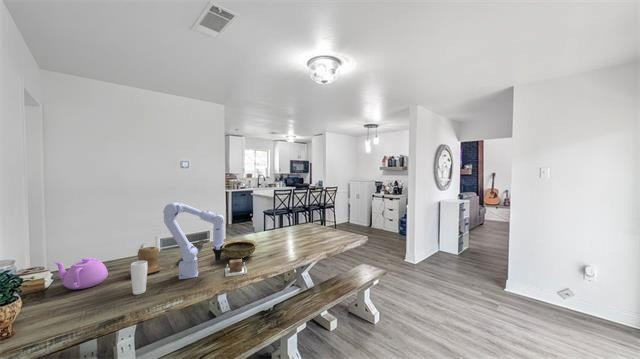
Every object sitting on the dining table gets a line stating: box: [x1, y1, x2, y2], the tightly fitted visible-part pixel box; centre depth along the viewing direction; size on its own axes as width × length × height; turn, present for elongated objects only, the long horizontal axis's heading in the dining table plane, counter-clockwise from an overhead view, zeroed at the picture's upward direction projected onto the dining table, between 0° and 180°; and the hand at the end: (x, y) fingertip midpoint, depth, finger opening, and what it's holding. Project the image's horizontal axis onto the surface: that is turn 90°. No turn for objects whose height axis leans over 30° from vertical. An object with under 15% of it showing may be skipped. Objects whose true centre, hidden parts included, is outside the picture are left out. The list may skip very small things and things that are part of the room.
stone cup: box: [137, 246, 163, 275], centre depth 145 cm, size 15×12×15 cm
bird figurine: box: [174, 239, 209, 267], centre depth 165 cm, size 13×10×20 cm
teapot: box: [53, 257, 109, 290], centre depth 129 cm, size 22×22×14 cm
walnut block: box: [229, 259, 243, 273], centre depth 149 cm, size 7×4×6 cm, turn 110°
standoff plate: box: [224, 261, 248, 278], centre depth 149 cm, size 12×10×4 cm
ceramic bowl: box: [221, 239, 259, 260], centre depth 173 cm, size 30×24×10 cm
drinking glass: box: [130, 260, 148, 296], centre depth 122 cm, size 7×7×15 cm
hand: (218, 258), depth 146 cm, fingers open, 7 cm apart
